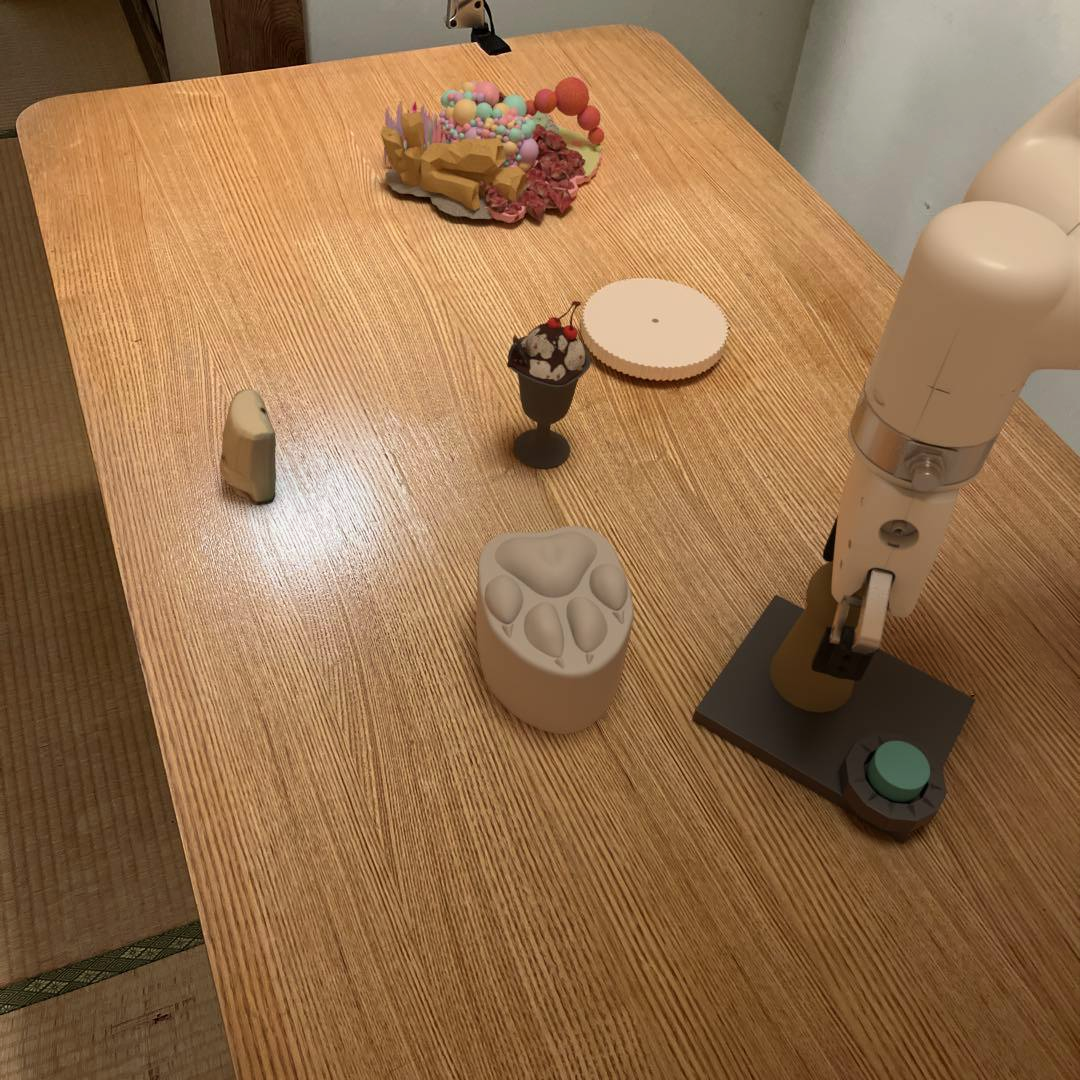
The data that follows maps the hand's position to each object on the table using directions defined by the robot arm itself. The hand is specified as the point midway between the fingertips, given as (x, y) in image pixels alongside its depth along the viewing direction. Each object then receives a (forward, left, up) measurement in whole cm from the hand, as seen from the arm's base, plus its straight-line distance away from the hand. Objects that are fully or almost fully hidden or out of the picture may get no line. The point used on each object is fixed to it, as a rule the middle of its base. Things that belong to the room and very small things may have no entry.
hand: (840, 614), depth 72 cm
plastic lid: (+30, -28, -9) cm, 42 cm away
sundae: (+30, -9, -9) cm, 32 cm away
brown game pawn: (0, 0, -7) cm, 7 cm away
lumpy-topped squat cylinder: (+17, +9, -9) cm, 21 cm away
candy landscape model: (+61, -44, -9) cm, 75 cm away
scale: (-2, +1, -9) cm, 9 cm away
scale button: (-8, +5, -6) cm, 11 cm away
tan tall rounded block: (+46, +9, -9) cm, 47 cm away
